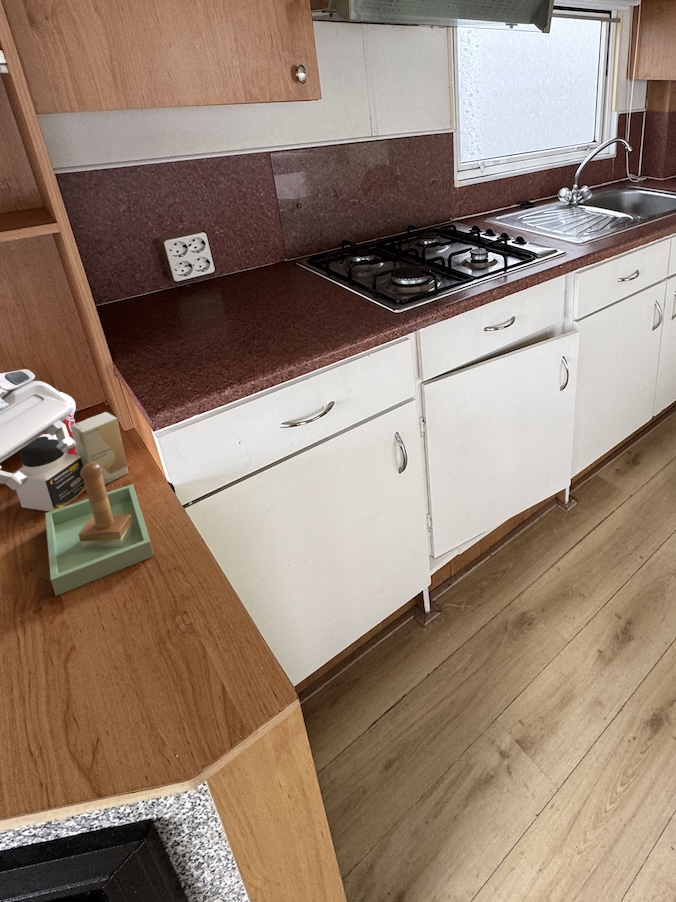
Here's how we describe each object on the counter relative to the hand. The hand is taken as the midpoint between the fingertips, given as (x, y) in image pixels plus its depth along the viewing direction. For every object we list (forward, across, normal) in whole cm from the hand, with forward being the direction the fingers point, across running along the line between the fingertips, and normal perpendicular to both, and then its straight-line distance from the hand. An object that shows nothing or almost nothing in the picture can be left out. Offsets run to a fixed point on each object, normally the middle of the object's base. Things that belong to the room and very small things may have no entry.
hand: (47, 465), depth 89 cm
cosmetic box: (+7, +16, +14) cm, 22 cm away
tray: (+14, 0, +7) cm, 15 cm away
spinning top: (-6, +27, +27) cm, 39 cm away
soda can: (-1, +19, +22) cm, 29 cm away
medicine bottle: (+3, +10, +18) cm, 20 cm away
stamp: (+14, +1, +5) cm, 15 cm away
